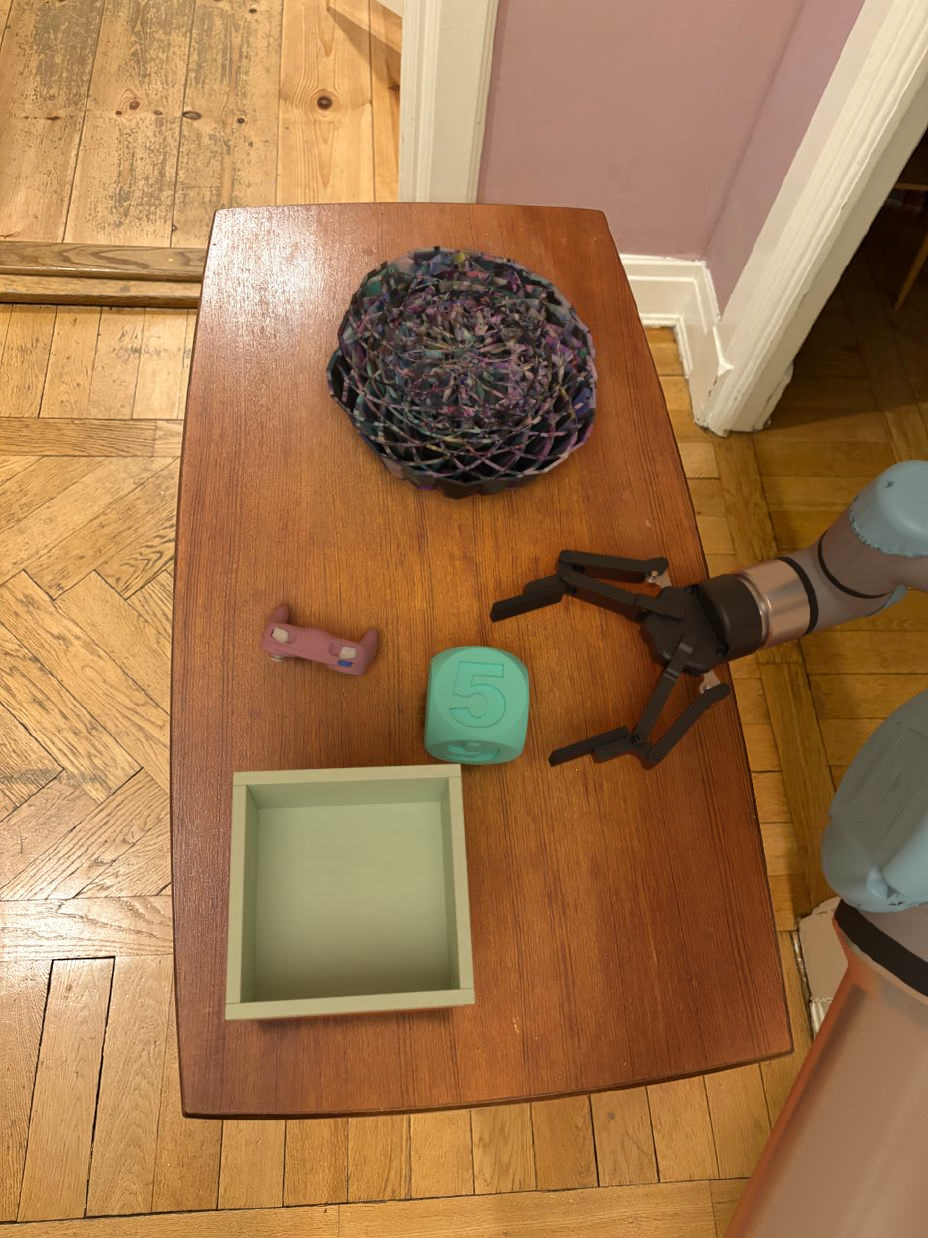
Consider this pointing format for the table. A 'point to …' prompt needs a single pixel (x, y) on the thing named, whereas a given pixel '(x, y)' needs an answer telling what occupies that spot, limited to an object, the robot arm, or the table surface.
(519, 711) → the decorative dice
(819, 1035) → the robot arm
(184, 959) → the table surface
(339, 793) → the bin
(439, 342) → the decorative bowl
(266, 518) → the table surface
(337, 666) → the video game controller
